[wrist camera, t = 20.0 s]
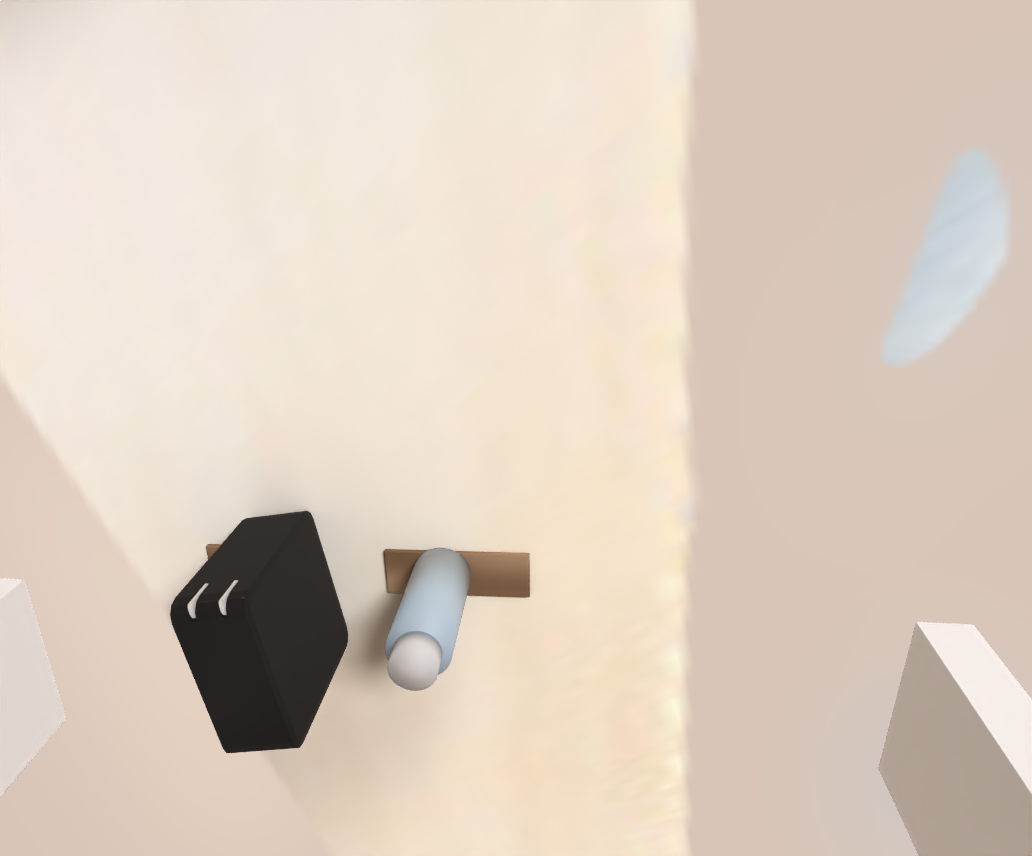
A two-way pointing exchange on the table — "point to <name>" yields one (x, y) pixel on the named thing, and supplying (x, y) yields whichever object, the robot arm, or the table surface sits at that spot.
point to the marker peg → (428, 619)
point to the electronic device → (263, 632)
